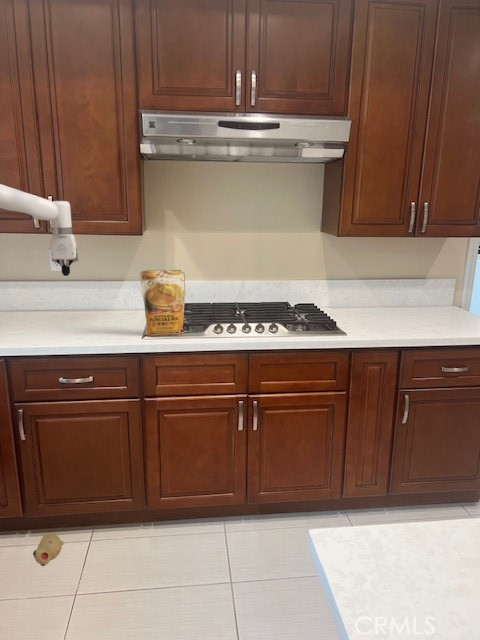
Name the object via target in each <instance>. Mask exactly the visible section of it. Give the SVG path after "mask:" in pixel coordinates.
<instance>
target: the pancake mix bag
mask: <svg viewBox="0 0 480 640" xmlns="http://www.w3.org/2000/svg"><path fill="white" fill-rule="evenodd" d="M139 279H140V285H141V294H142V295H141V296H142V300H143V301H142V302H143V306H144V317H145V322H146V328H145V334H144V335H145V336H150V337H165V336H180V335H181V334H182V335H183V334H184V333H185V332H184V327H183V326H184V319H185V318H184V316H185V315H184V314H185V304H186V276H185V271H183V270H182V269H148V270H147V269H146V270H142V271H140V272H139ZM180 330H183V332H179V333H170V332H178V331H180ZM150 333H168V334H150Z"/></svg>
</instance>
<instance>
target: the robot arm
mask: <svg viewBox="0 0 480 640" xmlns="http://www.w3.org/2000/svg"><path fill="white" fill-rule="evenodd" d="M0 209H3V210H6V211H12V212H18V213H23V214H28V215H31V217H33V218H34V219H36V220H41V221H51V223H52V225H51V226H52V227H51V228H49V229H48V231H49V233H52V234H50V244H49V246H50V247H49V248H50V249H49V250H50V251H49V253H50V258H51V262H53V263H57V264H58V265H59V266H60V267H61V274H62V276H63V277H68V276H69V275H70V274H71V265H72V264H73V263H76V262H77V263H78V261H79V257H78V255H79V253H78V246H77V241H76V237H75V235H74V234H73V227H72V226H73V225H72V211H71V203H70V202H69V201H67V200H53V201H52V200H50V199H46V198H44V197H41V196H39V195H35V194H32V193H28V192H25V191H22V190H19V189H17V188H14V187H12V186H11V187H10V186H8V185H5V184H2V183H0Z"/></svg>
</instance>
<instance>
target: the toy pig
mask: <svg viewBox="0 0 480 640" xmlns="http://www.w3.org/2000/svg"><path fill="white" fill-rule="evenodd" d="M40 539H41V540H40V541H39V543H38V546H37V548H36V549H35V550H33V553H32V555H33V558H34V560H35V562H36V563H37V564H39V565H40V566H41V567H45V566H46V565H48V564H49V563H50V562H51V561H53V560H55V559H56V558H57V557H58V556H59V555H60V553H61V551H62V548H63V545H64V544H65V542H64V541H63V540H61V538H60V537H59V536H58V533H57V531H55V532H52V533H47V534H44V535H43V536H42V537H41V538H40Z"/></svg>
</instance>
